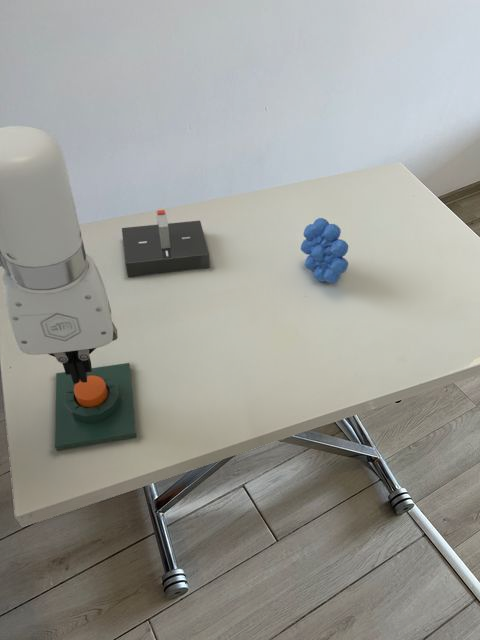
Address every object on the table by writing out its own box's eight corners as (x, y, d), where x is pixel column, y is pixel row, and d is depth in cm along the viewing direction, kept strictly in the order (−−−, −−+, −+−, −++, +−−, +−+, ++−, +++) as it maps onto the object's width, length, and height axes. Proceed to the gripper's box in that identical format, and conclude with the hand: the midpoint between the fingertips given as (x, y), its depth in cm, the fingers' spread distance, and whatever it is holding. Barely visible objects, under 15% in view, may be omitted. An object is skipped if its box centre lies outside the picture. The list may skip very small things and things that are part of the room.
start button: (76, 410, 68) (73, 402, 67) (76, 385, 71) (73, 377, 70) (108, 405, 69) (106, 397, 68) (107, 381, 72) (104, 373, 70)
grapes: (359, 292, 90) (374, 234, 81) (326, 304, 88) (337, 245, 79) (321, 253, 96) (331, 195, 87) (290, 263, 94) (296, 205, 85)
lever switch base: (127, 277, 90) (125, 262, 87) (124, 241, 96) (121, 227, 94) (209, 268, 92) (209, 253, 90) (200, 233, 99) (200, 219, 96)
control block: (56, 451, 67) (50, 438, 65) (58, 378, 75) (52, 364, 73) (136, 437, 69) (133, 424, 67) (130, 367, 77) (127, 354, 74)
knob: (170, 248, 90) (168, 225, 87) (161, 249, 90) (158, 225, 87) (167, 232, 93) (164, 209, 90) (158, 233, 93) (156, 209, 90)
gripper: (-40, 291, 49) (14, 407, 63) (125, 275, 52) (143, 389, 66) (-31, 241, 54) (18, 359, 67) (121, 230, 57) (138, 345, 70)
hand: (80, 374), depth 66 cm, fingers closed
